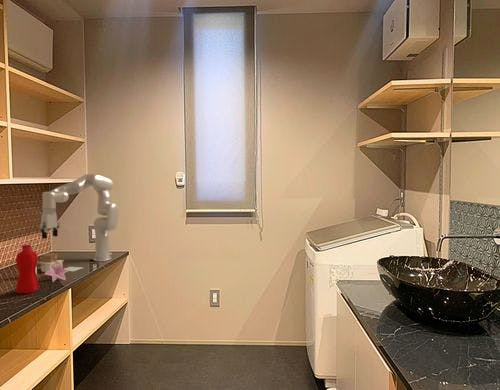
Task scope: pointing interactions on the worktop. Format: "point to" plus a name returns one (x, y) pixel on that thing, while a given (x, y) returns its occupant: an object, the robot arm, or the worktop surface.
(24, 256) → the water bottle
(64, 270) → the lily
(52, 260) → the lid
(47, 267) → the bowl
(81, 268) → the mat
